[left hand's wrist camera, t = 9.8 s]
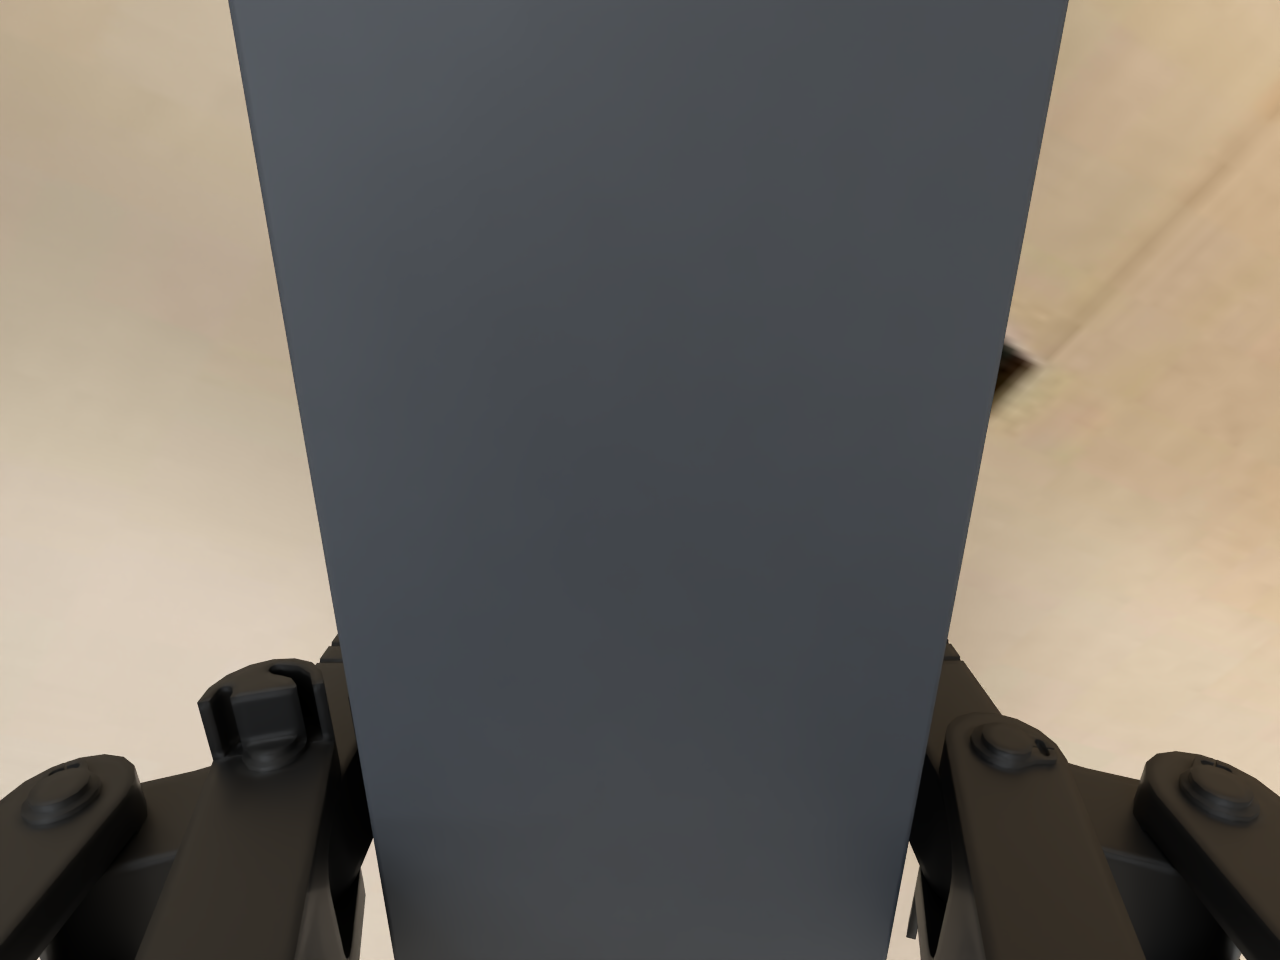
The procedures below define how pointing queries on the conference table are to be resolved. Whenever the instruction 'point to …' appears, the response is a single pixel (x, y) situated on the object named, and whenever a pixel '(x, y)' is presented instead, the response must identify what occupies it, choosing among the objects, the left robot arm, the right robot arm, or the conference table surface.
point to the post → (644, 438)
